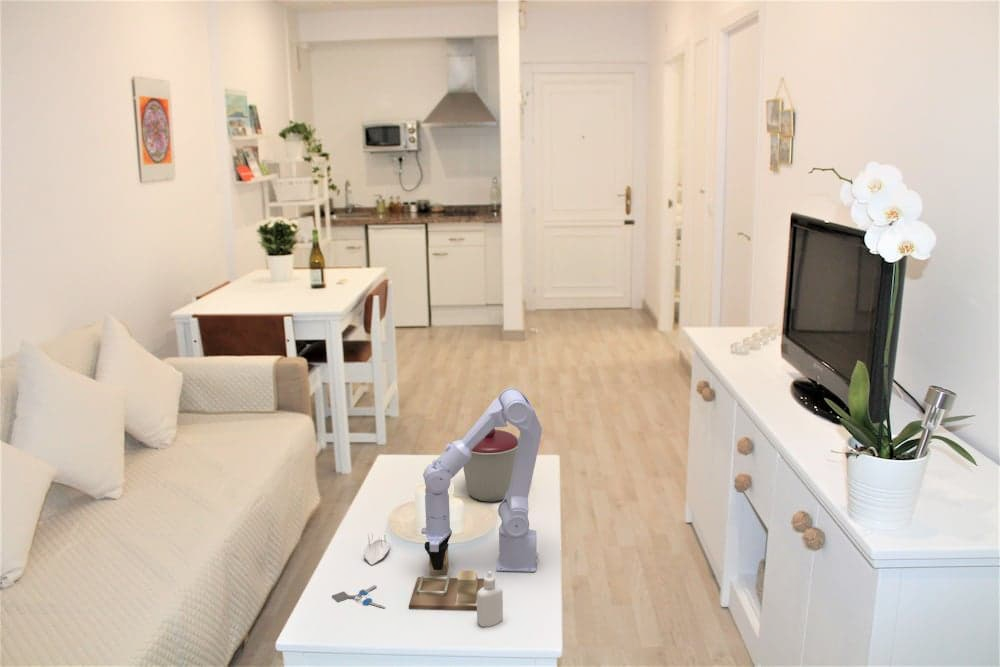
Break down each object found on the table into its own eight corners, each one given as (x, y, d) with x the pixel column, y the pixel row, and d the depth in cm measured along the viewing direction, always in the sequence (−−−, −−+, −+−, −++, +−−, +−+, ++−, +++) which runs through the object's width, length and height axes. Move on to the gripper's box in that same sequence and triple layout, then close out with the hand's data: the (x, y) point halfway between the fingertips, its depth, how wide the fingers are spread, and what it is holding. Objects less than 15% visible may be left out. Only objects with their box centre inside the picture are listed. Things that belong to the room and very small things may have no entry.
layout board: (484, 582, 197) (484, 555, 196) (480, 610, 186) (479, 582, 184) (417, 580, 199) (416, 554, 197) (409, 608, 187) (407, 580, 185)
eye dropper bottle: (477, 616, 184) (476, 567, 181) (502, 615, 184) (502, 566, 181) (476, 627, 180) (475, 577, 177) (502, 627, 180) (502, 577, 177)
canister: (466, 511, 235) (464, 440, 230) (454, 485, 252) (452, 419, 247) (528, 503, 239) (527, 434, 234) (512, 479, 256) (511, 414, 251)
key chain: (328, 602, 191) (327, 598, 190) (343, 583, 198) (343, 580, 198) (384, 610, 187) (384, 607, 187) (398, 591, 195) (398, 588, 195)
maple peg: (448, 566, 205) (447, 544, 203) (446, 574, 201) (445, 552, 200) (432, 566, 205) (431, 543, 204) (430, 574, 201) (429, 552, 200)
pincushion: (383, 567, 205) (382, 546, 204) (359, 566, 206) (358, 545, 205) (394, 543, 217) (393, 523, 216) (371, 542, 218) (370, 523, 216)
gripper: (425, 499, 207) (427, 549, 210) (416, 526, 193) (418, 579, 196) (453, 500, 206) (455, 550, 210) (446, 527, 192) (447, 580, 195)
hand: (439, 564), depth 203 cm, fingers closed on maple peg, 4 cm apart
